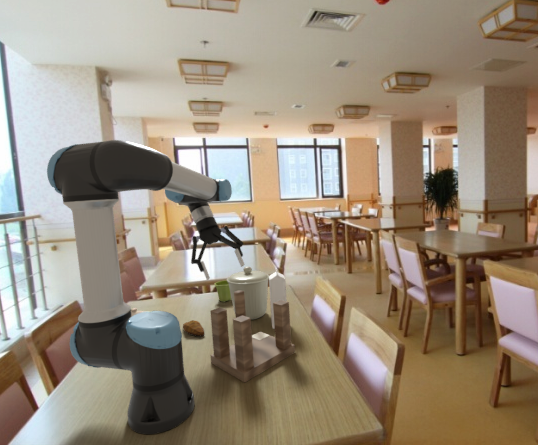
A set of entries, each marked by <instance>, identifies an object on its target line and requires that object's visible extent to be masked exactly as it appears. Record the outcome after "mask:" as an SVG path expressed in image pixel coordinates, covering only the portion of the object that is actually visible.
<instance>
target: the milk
mask: <svg viewBox="0 0 538 445" xmlns="http://www.w3.org/2000/svg"><path fill="white" fill-rule="evenodd" d="M286 285H287V283H286V278H285V275H284V274H282V273H280V272H279V271H278V270H277V268H275V271H274V272H273V273H271V274H269V279H268V288H269V300H270V315H271V326H272V327H271V328H272V329H274V330H275V326H274V310H273V303H274V302H277V301H279V300H283V301H287V300H288V299H287V286H286ZM287 302H288V301H287Z"/></svg>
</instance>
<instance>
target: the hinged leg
mask: <svg viewBox="0 0 538 445" xmlns="http://www.w3.org/2000/svg"><path fill="white" fill-rule="evenodd" d="M234 302H235V312H234V315H235V318H237V317H240V316H242V315H243V316H246V310H245V296H244V291H235V292H234Z"/></svg>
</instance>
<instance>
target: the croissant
mask: <svg viewBox="0 0 538 445" xmlns="http://www.w3.org/2000/svg"><path fill="white" fill-rule="evenodd" d="M182 330H183V331H184V332H185V333H186V334H188V335H190V336H191V335H192V336H194V337H200V338H201V337H204V336H205V330H204V328H203V326H202V325H201V323H200V321H198V320H190V321H189V320H188V321H187V322H185V323H182Z"/></svg>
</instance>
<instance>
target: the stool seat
mask: <svg viewBox="0 0 538 445" xmlns="http://www.w3.org/2000/svg"><path fill="white" fill-rule="evenodd" d="M273 310H274V326H275V329H274V336H273V335H270V334H268V333H265V332H262V331H259V332H256V333H254V334H252V331H253V330H252V320H251V318H249V317H246V316H243V315H242V316H240V317H237V318H236V317H235V318H232V326H233V338H234V339H233V341H234V343H233V344H231V345H230V337H229V324H228V311H227V309H226V308H223V307H216V308H214V309H212V310H210V322H211V324H210V325H211V336H212V346H213V347H212V348H213V353H211V354H210V364H212V365H214V366H215V367H217V368H219V369H221V370H222V371H224V372H225V373H228V374H229V375H231V376H233V377H234V378H236V379H238V380H240V381H241V382H242V383H247V382H248V381H250V380H251V379H253V378H255V377H256V376H258V375H260V374H262V373H263V372H265V371H266V370H269V369H270V368H272V367H273V366H275V365H276V364H279V363H280V362H282V361H284V360H285V359H288V357H290V356H292V355H293V354H295V353H296V347H295V346H296V345H295V344H294V343H292V334H291V332H292V331H291V317H290V316H291V315H290V302H289V301H283V300H279V301H277V302H274V303H273Z"/></svg>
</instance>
